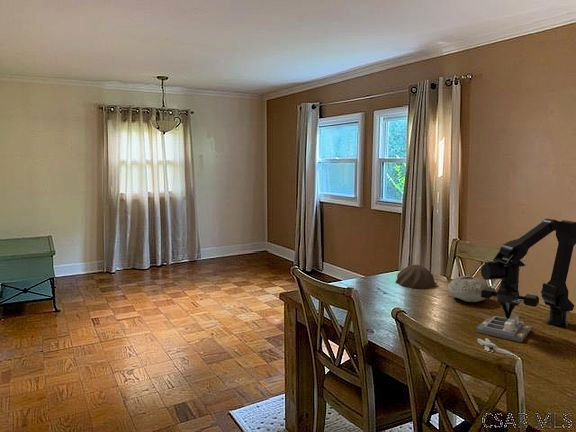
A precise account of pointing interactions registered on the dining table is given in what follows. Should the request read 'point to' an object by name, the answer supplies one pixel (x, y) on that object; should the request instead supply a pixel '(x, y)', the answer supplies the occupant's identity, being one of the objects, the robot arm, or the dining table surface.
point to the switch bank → (496, 327)
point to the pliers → (490, 345)
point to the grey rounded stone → (467, 288)
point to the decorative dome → (415, 277)
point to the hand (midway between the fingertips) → (508, 318)
